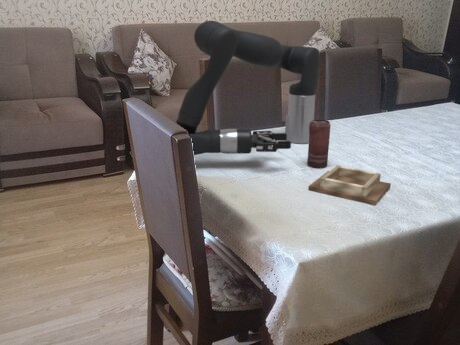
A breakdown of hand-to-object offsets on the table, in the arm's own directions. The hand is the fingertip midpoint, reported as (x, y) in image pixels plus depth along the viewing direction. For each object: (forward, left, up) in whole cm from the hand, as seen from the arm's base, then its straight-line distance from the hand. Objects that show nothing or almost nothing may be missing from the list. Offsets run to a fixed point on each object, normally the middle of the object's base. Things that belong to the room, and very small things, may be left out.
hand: (288, 140), depth 138 cm
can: (+8, +5, -8) cm, 12 cm away
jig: (+23, -8, -8) cm, 25 cm away
